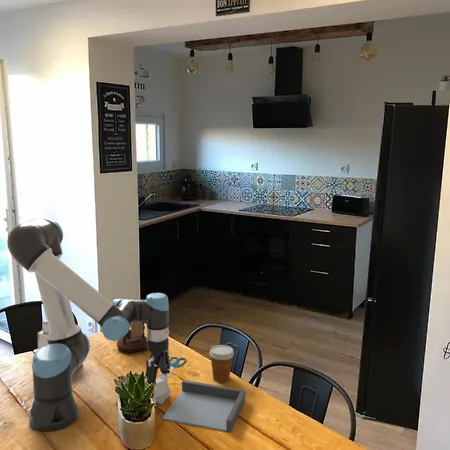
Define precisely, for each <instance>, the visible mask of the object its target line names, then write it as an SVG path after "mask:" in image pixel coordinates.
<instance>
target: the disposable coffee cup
mask: <svg viewBox="0 0 450 450" xmlns="http://www.w3.org/2000/svg"><path fill="white" fill-rule="evenodd" d="M208 353H209V356H210V362H211V371H212V378H213V381H214V382H217V383H227V382H228V381H230V378H231V369H232V365H233V357H234V355H235V351H234V348H232V346H230V345H227V344H218V345H214V346H211V348H210V351H209V352H208Z"/></svg>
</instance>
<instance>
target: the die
mask: <svg viewBox="0 0 450 450" xmlns="http://www.w3.org/2000/svg"><path fill="white" fill-rule="evenodd" d="M155 388H156V404H159V405H163V404H164V402H165V401H166V399H168V397H169V396H170V395H171V393H172V390H171V388H170V386H169V384H168V380H167V381H166V380H163V379H160V377H156V386H155Z"/></svg>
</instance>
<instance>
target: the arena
mask: <svg viewBox="0 0 450 450" xmlns="http://www.w3.org/2000/svg"><path fill="white" fill-rule="evenodd" d="M245 401H246V390H245V389H240V388H236V387H235V388H234V387H228V386H223V385H217V384H211V383H203V382H197V381H194V380H193V381H191V380H186V379H183V380H182V381H181V391H180V393H179V394H178V395H177V397H175V400H173V402H172V404H171V405H170V406H169V408H168V409H167V411H166V412H165V414H164V415H163V416H162V418H161V419H162V421H163V420H164V421H170V422H174V423H179V424H180V423H181V424H184V425H190V426H196V427H201V428H206V429H211V430H216V431H222V432H226V433H232V431H233V429H234V427H235V425H236V421H237V419H238V417H239V415H240V413H241V410H242V408H243V406H244V404H245Z"/></svg>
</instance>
